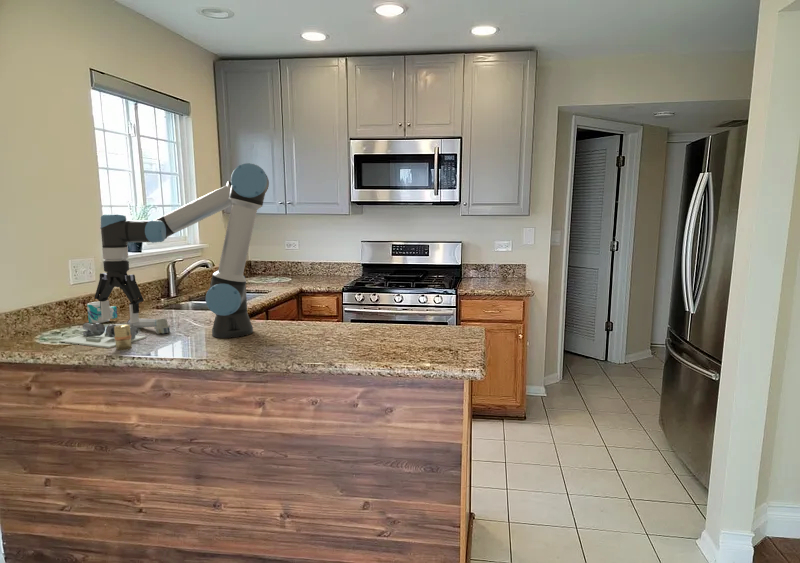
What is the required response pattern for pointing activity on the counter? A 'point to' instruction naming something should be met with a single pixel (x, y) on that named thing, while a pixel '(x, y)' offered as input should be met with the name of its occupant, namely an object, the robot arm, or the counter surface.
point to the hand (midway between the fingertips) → (120, 321)
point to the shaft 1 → (93, 329)
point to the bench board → (97, 340)
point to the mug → (99, 312)
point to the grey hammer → (152, 324)
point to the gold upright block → (122, 337)
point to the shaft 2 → (111, 332)
